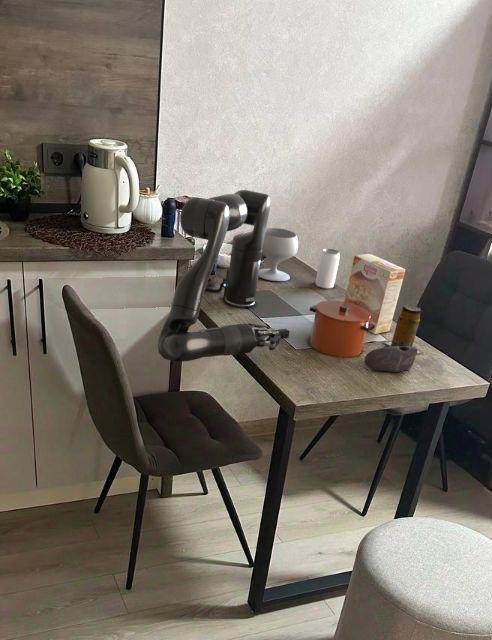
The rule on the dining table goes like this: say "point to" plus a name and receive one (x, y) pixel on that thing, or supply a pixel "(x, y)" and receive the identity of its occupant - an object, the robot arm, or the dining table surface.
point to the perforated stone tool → (391, 358)
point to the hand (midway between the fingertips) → (287, 333)
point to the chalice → (278, 252)
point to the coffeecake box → (375, 289)
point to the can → (327, 268)
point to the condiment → (406, 327)
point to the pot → (339, 328)
